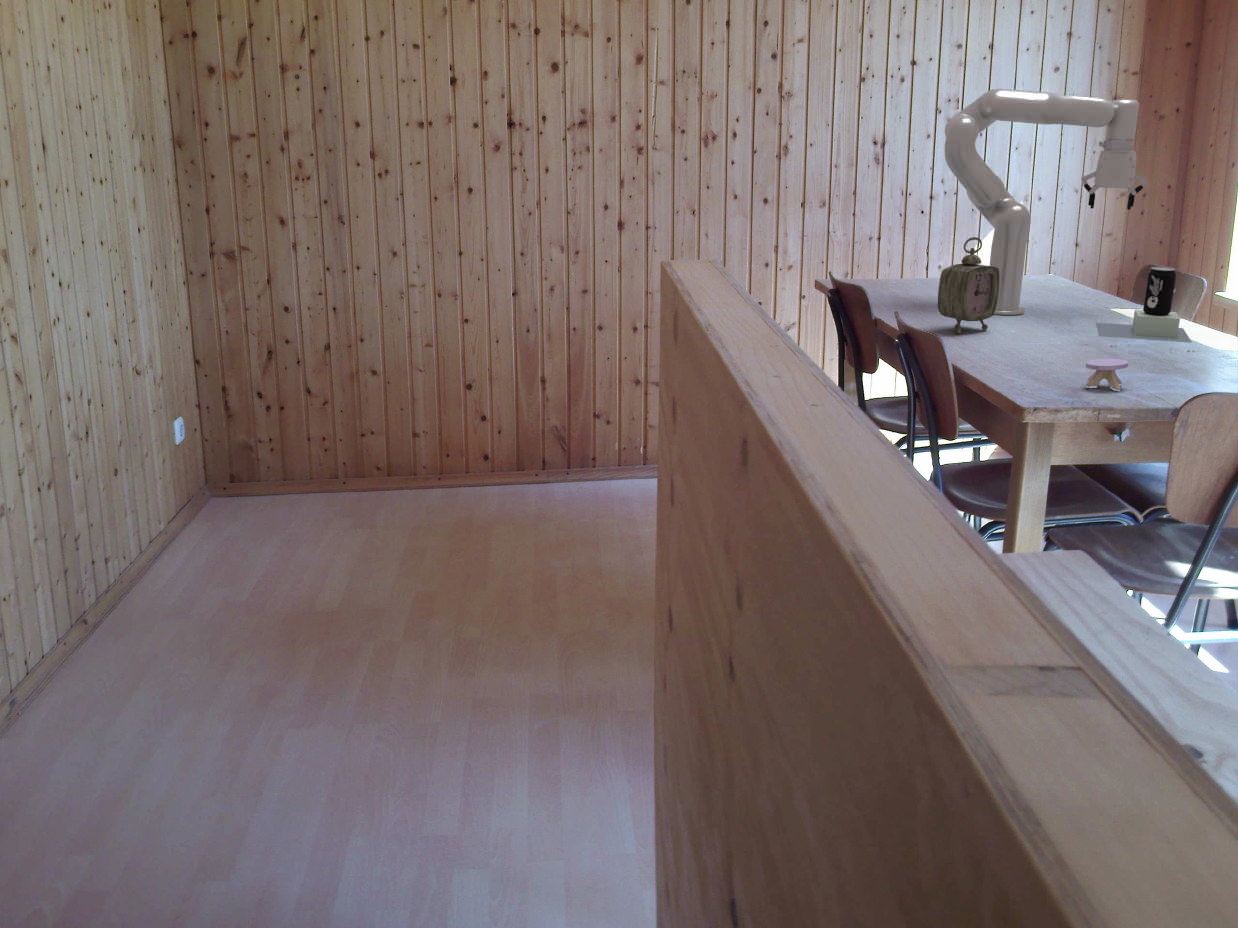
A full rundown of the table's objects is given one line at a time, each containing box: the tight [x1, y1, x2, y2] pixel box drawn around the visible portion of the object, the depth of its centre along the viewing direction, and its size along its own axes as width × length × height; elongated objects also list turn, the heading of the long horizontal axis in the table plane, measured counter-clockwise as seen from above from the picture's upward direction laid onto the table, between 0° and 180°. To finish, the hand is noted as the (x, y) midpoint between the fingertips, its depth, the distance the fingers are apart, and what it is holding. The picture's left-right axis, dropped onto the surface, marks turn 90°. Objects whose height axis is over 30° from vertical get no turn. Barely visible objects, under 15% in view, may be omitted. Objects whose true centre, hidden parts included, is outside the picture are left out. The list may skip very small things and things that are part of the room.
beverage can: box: [1142, 266, 1177, 316], centre depth 294 cm, size 7×7×12 cm
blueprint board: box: [1095, 322, 1193, 343], centre depth 298 cm, size 22×20×1 cm
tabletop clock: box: [937, 236, 999, 335], centre depth 300 cm, size 14×9×25 cm, turn 123°
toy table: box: [1085, 358, 1129, 391], centre depth 244 cm, size 10×9×6 cm
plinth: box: [1132, 309, 1181, 338], centre depth 297 cm, size 10×10×5 cm
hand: (1110, 208), depth 318 cm, fingers open, 9 cm apart
